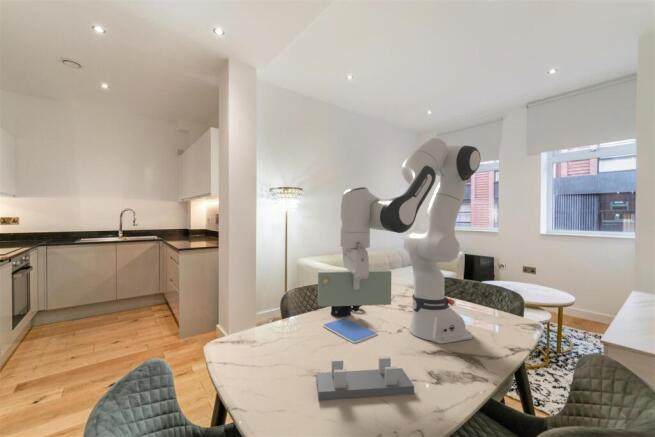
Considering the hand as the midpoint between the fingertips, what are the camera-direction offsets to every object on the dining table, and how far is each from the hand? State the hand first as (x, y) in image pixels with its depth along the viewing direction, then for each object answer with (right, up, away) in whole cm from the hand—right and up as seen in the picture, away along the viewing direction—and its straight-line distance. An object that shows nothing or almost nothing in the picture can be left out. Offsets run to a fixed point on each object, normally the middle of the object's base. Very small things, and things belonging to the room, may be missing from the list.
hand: (354, 287), depth 81 cm
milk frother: (+1, -23, +45) cm, 50 cm away
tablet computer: (0, -24, +24) cm, 34 cm away
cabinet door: (0, -5, 0) cm, 5 cm away
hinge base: (+1, -23, -11) cm, 26 cm away
